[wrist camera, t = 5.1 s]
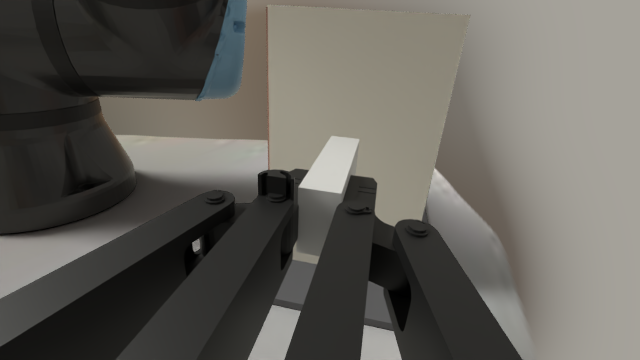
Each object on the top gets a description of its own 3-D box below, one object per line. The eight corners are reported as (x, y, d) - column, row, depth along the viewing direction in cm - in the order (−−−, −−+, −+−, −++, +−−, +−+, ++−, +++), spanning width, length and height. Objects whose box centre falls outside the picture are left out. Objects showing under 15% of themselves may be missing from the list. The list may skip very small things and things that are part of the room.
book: (407, 281, 24) (470, 14, 16) (269, 255, 25) (265, 4, 18) (405, 253, 27) (457, 19, 19) (282, 231, 28) (284, 9, 21)
